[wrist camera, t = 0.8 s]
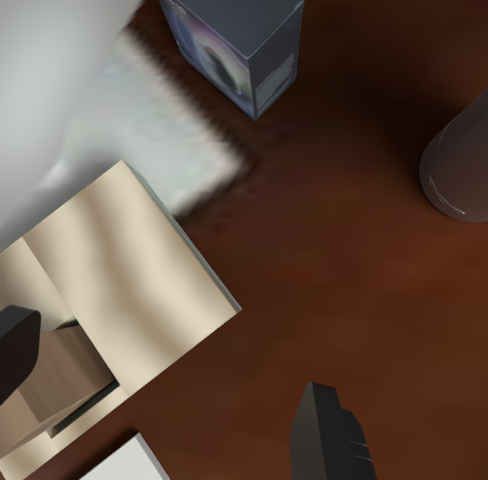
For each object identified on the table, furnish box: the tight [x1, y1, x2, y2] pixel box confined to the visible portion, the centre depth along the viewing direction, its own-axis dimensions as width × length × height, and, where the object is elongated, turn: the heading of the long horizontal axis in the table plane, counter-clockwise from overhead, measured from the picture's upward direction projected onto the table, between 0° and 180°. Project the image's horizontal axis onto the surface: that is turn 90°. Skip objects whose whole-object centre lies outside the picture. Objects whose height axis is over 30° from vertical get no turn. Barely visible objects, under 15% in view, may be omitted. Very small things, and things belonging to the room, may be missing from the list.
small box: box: [159, 0, 304, 121], centre depth 32 cm, size 11×6×10 cm, turn 46°
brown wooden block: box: [0, 325, 117, 460], centre depth 27 cm, size 5×5×12 cm
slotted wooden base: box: [0, 160, 242, 480], centre depth 32 cm, size 22×16×5 cm
